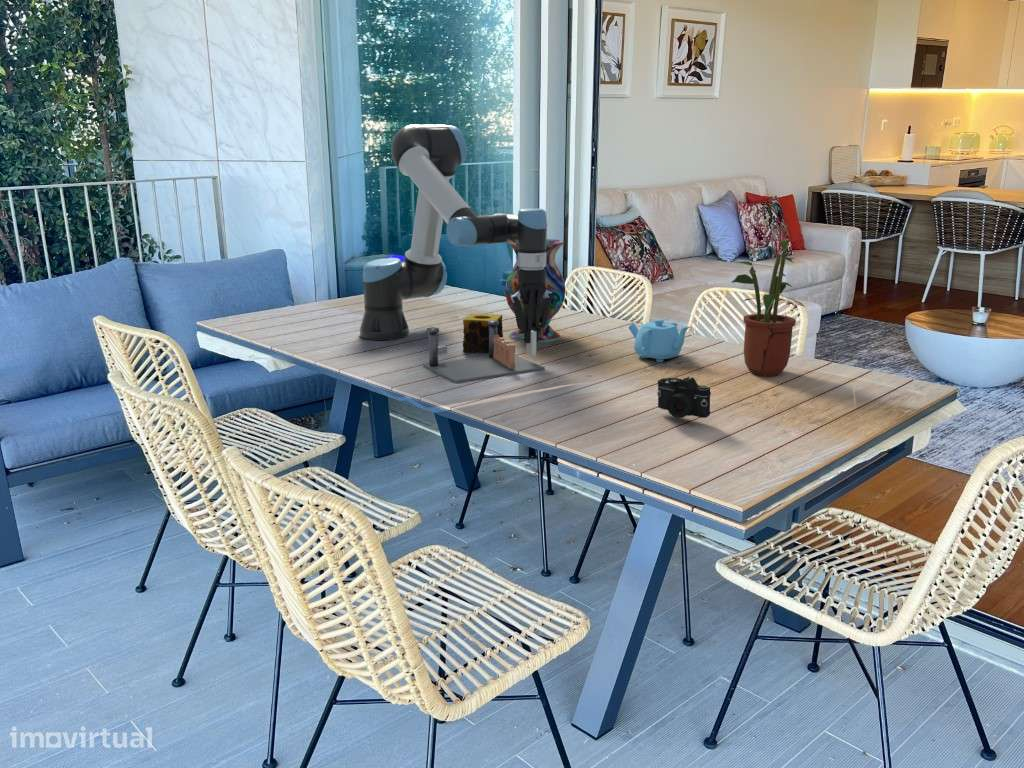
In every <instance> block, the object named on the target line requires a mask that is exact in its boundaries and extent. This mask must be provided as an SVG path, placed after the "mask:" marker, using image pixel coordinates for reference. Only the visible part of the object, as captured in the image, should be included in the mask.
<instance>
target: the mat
mask: <svg viewBox="0 0 1024 768" xmlns="http://www.w3.org/2000/svg"><path fill="white" fill-rule="evenodd" d="M422 367H423V368H425V369H427V370H429V371H431V372H433V373H435V374H437V375H439V376H441V377H442V378H444V379H447V380H449V381H451V382H452V383H455V384H456V383H463V382H464V383H465V382H470V381H477V380H478V381H479V380H483V379H490V378H495V377H496V378H498V377H502V376H511V375H515V374H517V375H518V374H524V373H529V372H535V371H542V370H545V369H546V367H545V366H543V365H541V364H538V363H535V362H532V361H531V360H528V359H525V358H524V357H522V356H521V357H520V356H519V355H517V354H515V369H509V368H508V367H506V366H505V365H503V364H502V363H500V362H499V361H497V360H496V359H494V358H489V354H487V355H482V356H475V357H474V356H473V357H467V358H459V359H452V360H447V361H440V362H439V361H438V366H436V367H431V366H429V363H425V364H424V363H423V364H422Z"/></svg>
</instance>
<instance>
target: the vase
mask: <svg viewBox="0 0 1024 768" xmlns="http://www.w3.org/2000/svg"><path fill="white" fill-rule="evenodd" d="M563 244H564V241H562V240H560V239H555V238H546V266H545V267H544V269H545V270H546V282H545V286H546V290H548V291H549V292H552V293H554V296H553V298H552V299H551V301H550V306H549V311H548V316H547V320H546V325H545V327H544V328H541V331H539V340H538V342H536V344H541V343H542V344H543V343H549V342H554V341H558V340H559V339H560V338H561V337H562V336H561V334H560V333H558V332H557V331H556V330H554V329H553V328H552V327H551V325H550V323H551V321H552V319H553V318H554V317H555V316H556V315H557V314H558V312H559V311H560V309H562V306H563V304H564V301H565V297H566V296H565V295H566V285H565V279H564V276H563V275H562V272H561V270H559V267H558V265H557V263H556V254H557V252H558V250H559V249H560V248H561V247H562V245H563ZM508 245H509V246H510V247H511V248H512V250H513V251H514V253H515V260H516V261H515V262H514V263H515V264H514V266H513V267H512V269H511V271H510V272H509V274H508V276H507V278H506V283H505V290H504V291H505V299H506V302H507V306H509V307H508V308H509V309H510V310H511V312H512V313H513V314H514V315H515V312H514V308H513V303H512V302H511V300H510V298H509V297H510V295H514V294H515V293H516V292H517V288H518V286H519V283H518V270H519V268H520V267H519V266H518V244H517V243H508ZM542 298H543V297H542ZM542 298H541V302H542ZM520 299H521V297H520ZM520 302H521V306H522V310H523V304H522V299H521V300H520ZM540 307H541V306H540ZM508 338H509V339H510V340H513V341H516V342H521V343H525V342H524V330H521V329H518V328H516V329H515V330H514V331H512V332H511V333H510V334H509V335H508Z"/></svg>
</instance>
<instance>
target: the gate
mask: <svg viewBox="0 0 1024 768" xmlns="http://www.w3.org/2000/svg"><path fill="white" fill-rule="evenodd" d="M493 342H494V353H493V358H494V359H496V360H497V361H499V362H500V363H502V364H503V365H505V366H506V367H508V368H509V369H515V355H516V344H515V343H510V340H505V338H504V337H503V338H500V337H499V335H494V337H493Z"/></svg>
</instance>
